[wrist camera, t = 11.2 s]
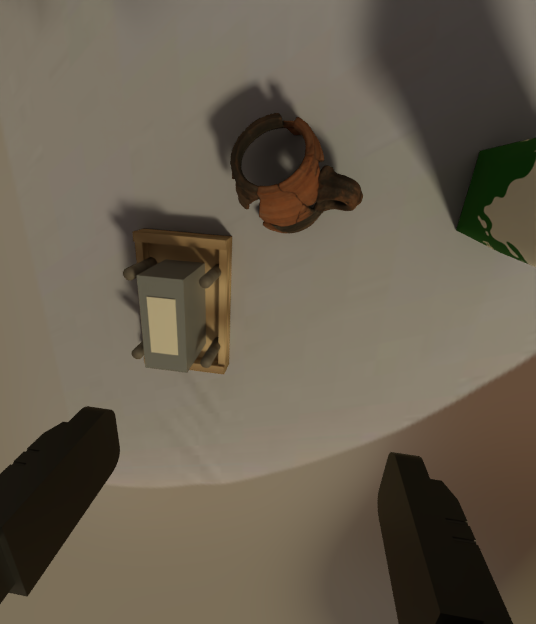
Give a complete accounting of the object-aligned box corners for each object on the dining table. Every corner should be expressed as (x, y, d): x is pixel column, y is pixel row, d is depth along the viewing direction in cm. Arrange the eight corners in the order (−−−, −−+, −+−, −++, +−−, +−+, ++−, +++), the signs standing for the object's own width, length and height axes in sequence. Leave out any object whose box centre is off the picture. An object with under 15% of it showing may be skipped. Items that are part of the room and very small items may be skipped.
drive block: (165, 259, 37) (135, 275, 30) (204, 262, 36) (182, 280, 30) (170, 339, 40) (145, 367, 34) (206, 343, 40) (186, 373, 34)
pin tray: (143, 228, 37) (113, 237, 31) (232, 236, 36) (216, 247, 30) (153, 353, 43) (129, 379, 37) (229, 363, 42) (216, 391, 36)
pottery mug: (243, 233, 36) (208, 199, 28) (266, 152, 36) (237, 96, 29) (353, 253, 32) (348, 220, 24) (377, 162, 33) (380, 100, 25)
